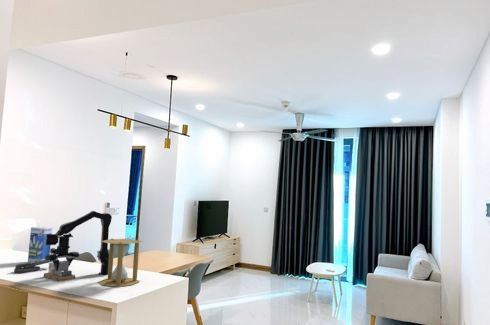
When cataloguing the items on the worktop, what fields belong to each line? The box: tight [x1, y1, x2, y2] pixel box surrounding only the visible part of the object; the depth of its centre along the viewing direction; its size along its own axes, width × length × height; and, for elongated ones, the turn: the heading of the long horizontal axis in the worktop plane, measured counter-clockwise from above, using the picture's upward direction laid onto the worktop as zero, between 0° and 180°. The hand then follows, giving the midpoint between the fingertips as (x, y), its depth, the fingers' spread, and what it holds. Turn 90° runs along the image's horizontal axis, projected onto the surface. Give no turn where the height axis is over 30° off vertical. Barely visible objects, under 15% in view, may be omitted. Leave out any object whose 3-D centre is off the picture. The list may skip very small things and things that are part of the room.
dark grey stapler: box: [13, 260, 52, 275], centre depth 237 cm, size 9×7×25 cm
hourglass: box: [97, 238, 143, 288], centre depth 215 cm, size 24×22×25 cm
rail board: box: [43, 262, 76, 282], centre depth 220 cm, size 18×10×10 cm, turn 56°
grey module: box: [55, 260, 70, 273], centre depth 219 cm, size 4×6×6 cm
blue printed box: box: [27, 226, 53, 263], centre depth 263 cm, size 13×8×26 cm, turn 73°
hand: (61, 270), depth 219 cm, fingers closed on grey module, 6 cm apart
